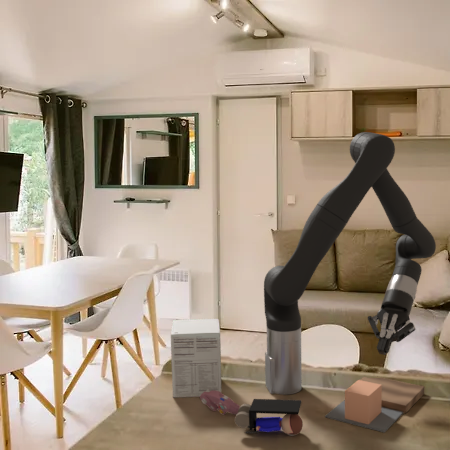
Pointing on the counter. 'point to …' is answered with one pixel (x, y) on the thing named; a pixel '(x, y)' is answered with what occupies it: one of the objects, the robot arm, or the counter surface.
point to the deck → (397, 393)
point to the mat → (378, 423)
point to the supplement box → (195, 357)
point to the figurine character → (267, 424)
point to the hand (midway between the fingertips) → (381, 353)
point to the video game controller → (219, 402)
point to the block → (363, 401)
